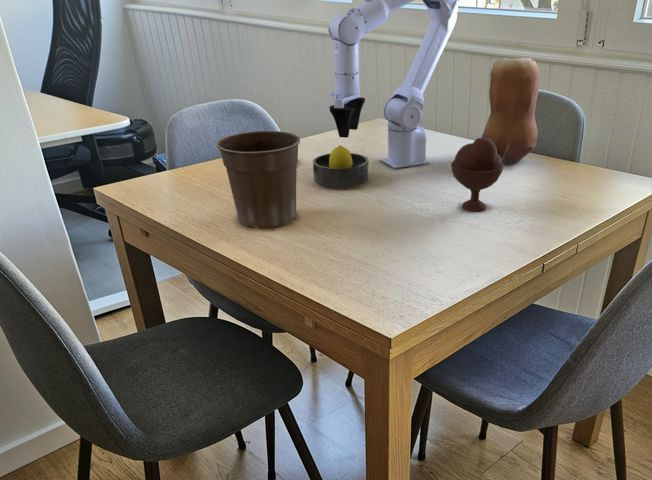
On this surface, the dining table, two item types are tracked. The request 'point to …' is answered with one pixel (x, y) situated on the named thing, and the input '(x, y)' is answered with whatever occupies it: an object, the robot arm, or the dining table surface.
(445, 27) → the robot arm
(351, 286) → the dining table surface
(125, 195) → the dining table surface
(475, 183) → the ice cream bowl
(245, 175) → the plant pot
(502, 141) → the butternut squash
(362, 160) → the bowl
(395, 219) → the dining table surface
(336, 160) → the lemon
